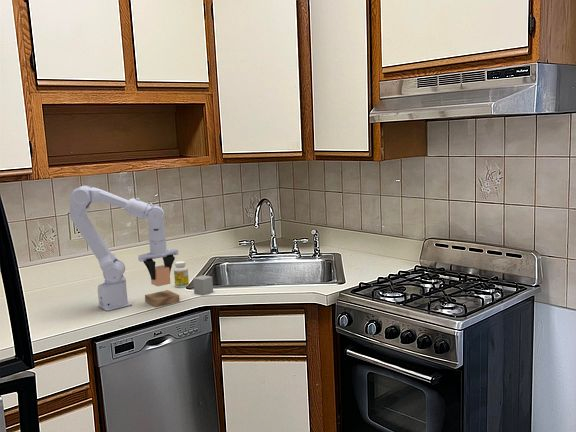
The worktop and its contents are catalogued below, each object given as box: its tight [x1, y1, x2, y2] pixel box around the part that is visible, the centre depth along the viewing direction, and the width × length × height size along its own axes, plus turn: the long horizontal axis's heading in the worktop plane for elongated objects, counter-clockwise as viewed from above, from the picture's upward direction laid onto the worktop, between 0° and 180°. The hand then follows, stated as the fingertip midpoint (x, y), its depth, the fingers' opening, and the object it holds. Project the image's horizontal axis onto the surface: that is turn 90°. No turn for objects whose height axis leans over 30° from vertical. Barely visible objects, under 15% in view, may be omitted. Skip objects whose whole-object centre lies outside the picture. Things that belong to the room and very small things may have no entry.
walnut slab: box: [144, 289, 180, 308], centre depth 208 cm, size 9×9×3 cm
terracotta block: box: [150, 264, 171, 287], centre depth 207 cm, size 5×5×6 cm
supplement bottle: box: [173, 260, 190, 289], centre depth 228 cm, size 5×5×10 cm
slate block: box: [192, 274, 214, 296], centre depth 217 cm, size 5×5×6 cm
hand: (160, 277), depth 207 cm, fingers closed on terracotta block, 5 cm apart
